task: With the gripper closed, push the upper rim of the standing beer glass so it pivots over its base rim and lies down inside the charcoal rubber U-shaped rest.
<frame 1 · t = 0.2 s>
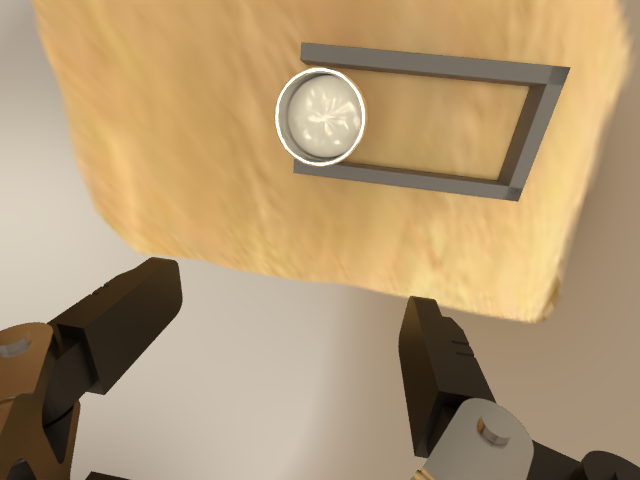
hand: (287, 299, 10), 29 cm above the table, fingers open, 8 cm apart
beer glass: (335, 116, 35), on the table
u rest: (404, 124, 34), on the table
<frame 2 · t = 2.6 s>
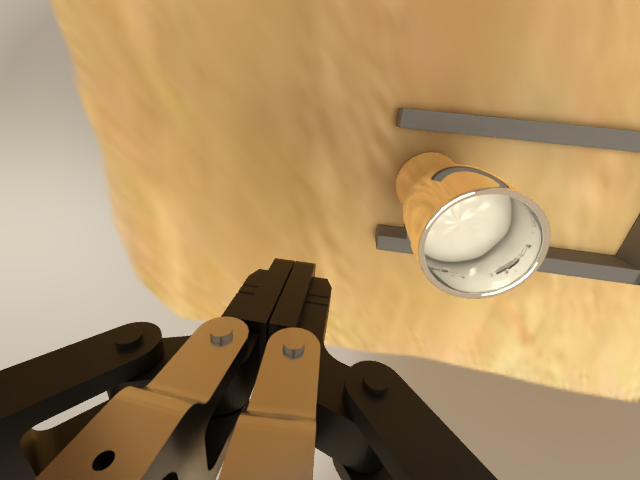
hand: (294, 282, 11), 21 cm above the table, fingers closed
beer glass: (426, 182, 29), on the table
u rest: (510, 193, 29), on the table
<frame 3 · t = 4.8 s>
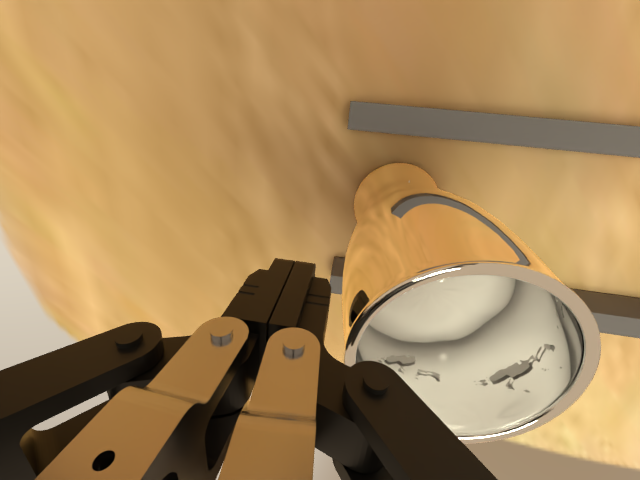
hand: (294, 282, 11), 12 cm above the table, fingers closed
beer glass: (395, 203, 22), on the table, touching gripper
u rest: (508, 217, 21), on the table
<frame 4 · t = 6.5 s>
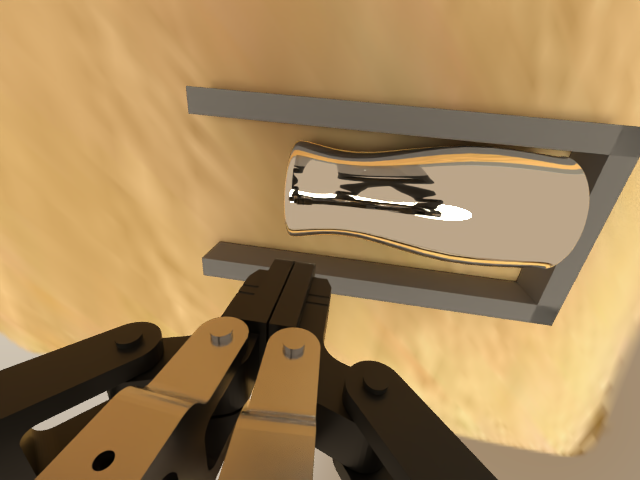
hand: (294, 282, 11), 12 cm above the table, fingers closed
beer glass: (292, 189, 19), point 3 cm above the table
u rest: (371, 201, 22), on the table
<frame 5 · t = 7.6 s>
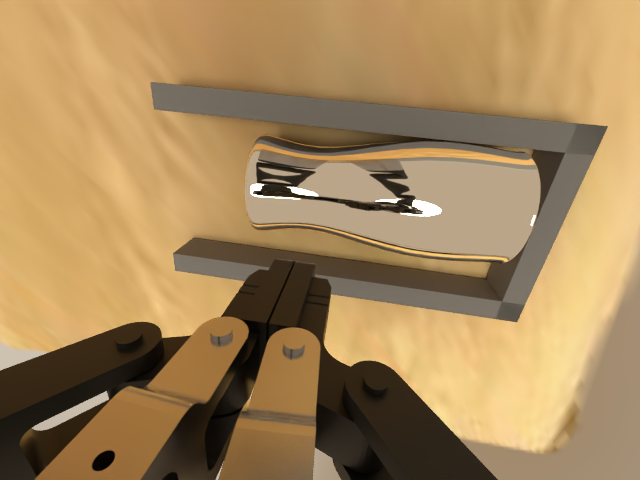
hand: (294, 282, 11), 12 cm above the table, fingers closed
beer glass: (258, 183, 19), point 3 cm above the table
u rest: (341, 198, 22), on the table
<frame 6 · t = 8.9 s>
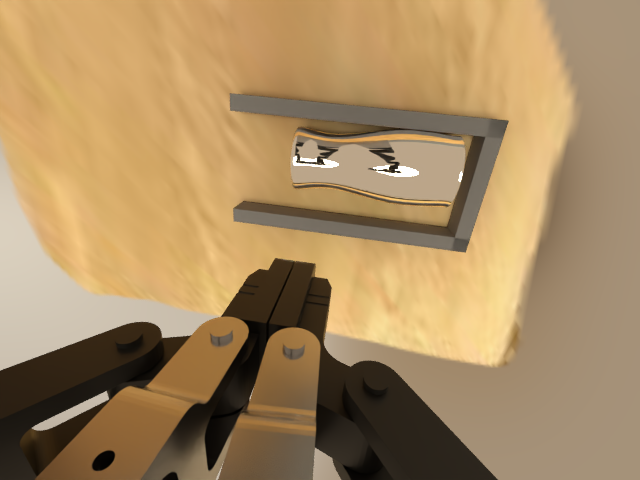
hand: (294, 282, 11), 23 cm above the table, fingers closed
beer glass: (295, 158, 30), point 3 cm above the table
u rest: (347, 170, 32), on the table
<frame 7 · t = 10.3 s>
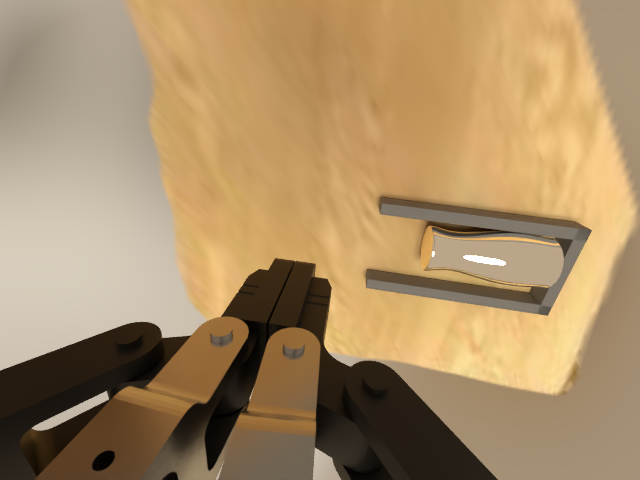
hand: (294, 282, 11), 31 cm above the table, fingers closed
beer glass: (424, 247, 40), point 3 cm above the table
u rest: (456, 251, 42), on the table
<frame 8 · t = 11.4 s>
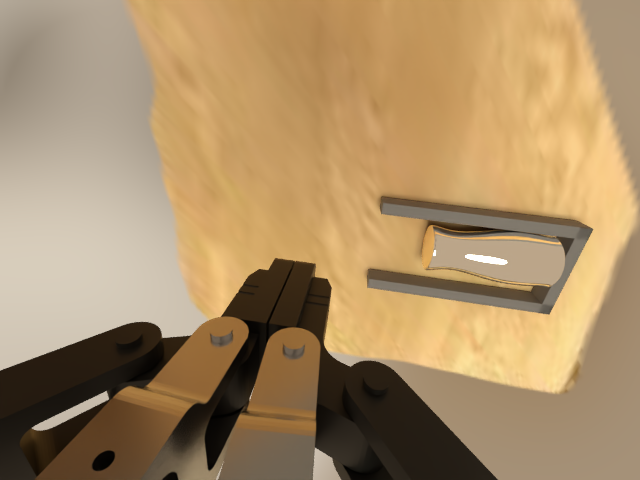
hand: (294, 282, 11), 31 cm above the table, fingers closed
beer glass: (425, 247, 40), point 3 cm above the table
u rest: (457, 250, 42), on the table
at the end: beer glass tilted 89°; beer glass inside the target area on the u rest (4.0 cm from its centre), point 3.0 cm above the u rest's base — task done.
